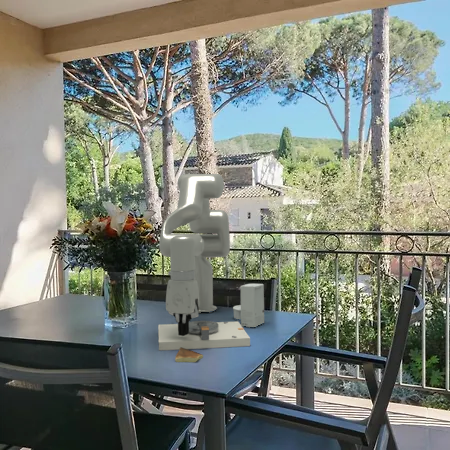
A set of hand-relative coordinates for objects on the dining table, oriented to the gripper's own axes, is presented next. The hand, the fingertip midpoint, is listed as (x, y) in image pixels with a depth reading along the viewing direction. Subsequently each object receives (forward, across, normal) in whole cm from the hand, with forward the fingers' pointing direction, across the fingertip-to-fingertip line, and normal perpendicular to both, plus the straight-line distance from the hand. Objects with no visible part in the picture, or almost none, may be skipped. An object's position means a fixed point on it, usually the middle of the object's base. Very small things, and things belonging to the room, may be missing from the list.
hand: (183, 334), depth 152 cm
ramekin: (+4, -2, +42) cm, 42 cm away
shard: (+4, +7, -9) cm, 12 cm away
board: (+4, 0, +10) cm, 11 cm away
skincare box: (+4, +6, +34) cm, 35 cm away
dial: (+1, +2, +7) cm, 8 cm away
